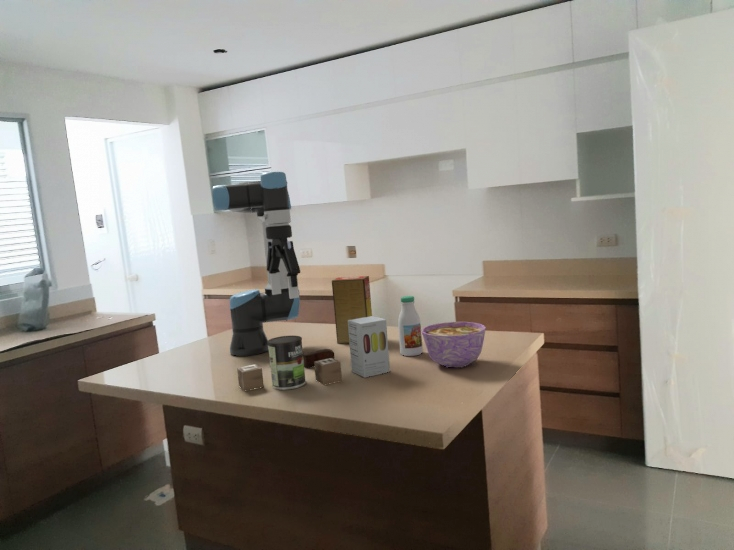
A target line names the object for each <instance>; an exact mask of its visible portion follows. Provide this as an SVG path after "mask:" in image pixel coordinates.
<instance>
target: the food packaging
mask: <svg viewBox="0 0 734 550" xmlns="http://www.w3.org/2000/svg"><path fill="white" fill-rule="evenodd" d="M370 285H371V284H370V276H369V275H363V276H360V275H359V276H343V277H342V276H341V277H336V278H333V279H332V280H331V288H332V289H331V290H332V297H333V299H332V300H333V301H332V302H333V307H334V308H333V310H334V323H335V333H336V343H337V344H350V343H349V330H348V320H352V319H358V318H364V317H370V316H373V313H372V312H373V310H372V299H371V286H370Z"/></svg>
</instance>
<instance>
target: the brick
mask: <svg viewBox="0 0 734 550" xmlns="http://www.w3.org/2000/svg"><path fill="white" fill-rule="evenodd" d="M329 358H333V359H335V353H334V351H333V350H332V349H329V348H322V349H319V350H314V351H308V352H303V360H304V369H311V368H310V367H312V368H315V367H314V366H315V364H314V362H315V361H320V360H325V359H329Z"/></svg>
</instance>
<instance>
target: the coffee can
mask: <svg viewBox="0 0 734 550" xmlns="http://www.w3.org/2000/svg"><path fill="white" fill-rule="evenodd" d="M302 340H303V337H302V336H300V335H283V336H282V335H281V336H277V337H276V336H275V337H273V338H270V339H268V341H267V343H268V348H269V350H268V356H269V364H270V365H269V366H270V367H269V368H270V374H271V384H272V386H271V387H272V388H273V389H275V390H278V391H280V390H281V391H285V390H286V391H287V390H293V389H298V388H301V387H303V386H305V385H306V383H307V381H306V373H305V367H304V360H303V353H304V352H303V351H304V350H303V342H302Z"/></svg>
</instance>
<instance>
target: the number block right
mask: <svg viewBox="0 0 734 550" xmlns="http://www.w3.org/2000/svg"><path fill="white" fill-rule="evenodd" d="M314 364H315V367H314V373H315V374H314V375H315V381H316V380H317V381H316V382H318V383H319V382H320V384H321V385H323V386H326V385H330V384H329V383H331V384H334V382H335V383H338V381H339V382H342V381H343V376H342V368H341V366H342V364H341V361H340V360H337V359H336V358H334V359H333V358H329V359H325V360H320V361H315V362H314ZM325 384H326V385H325Z"/></svg>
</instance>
